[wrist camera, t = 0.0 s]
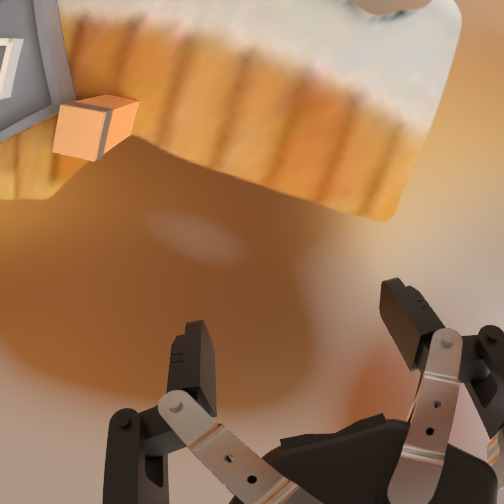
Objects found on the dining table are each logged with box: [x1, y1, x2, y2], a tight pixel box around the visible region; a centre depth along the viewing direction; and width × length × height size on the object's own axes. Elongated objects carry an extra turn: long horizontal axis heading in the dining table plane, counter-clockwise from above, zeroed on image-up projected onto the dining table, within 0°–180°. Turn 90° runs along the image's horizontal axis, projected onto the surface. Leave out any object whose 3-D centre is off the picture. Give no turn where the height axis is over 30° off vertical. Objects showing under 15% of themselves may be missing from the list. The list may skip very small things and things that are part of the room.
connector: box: [53, 94, 140, 161], centre depth 29 cm, size 5×5×13 cm
